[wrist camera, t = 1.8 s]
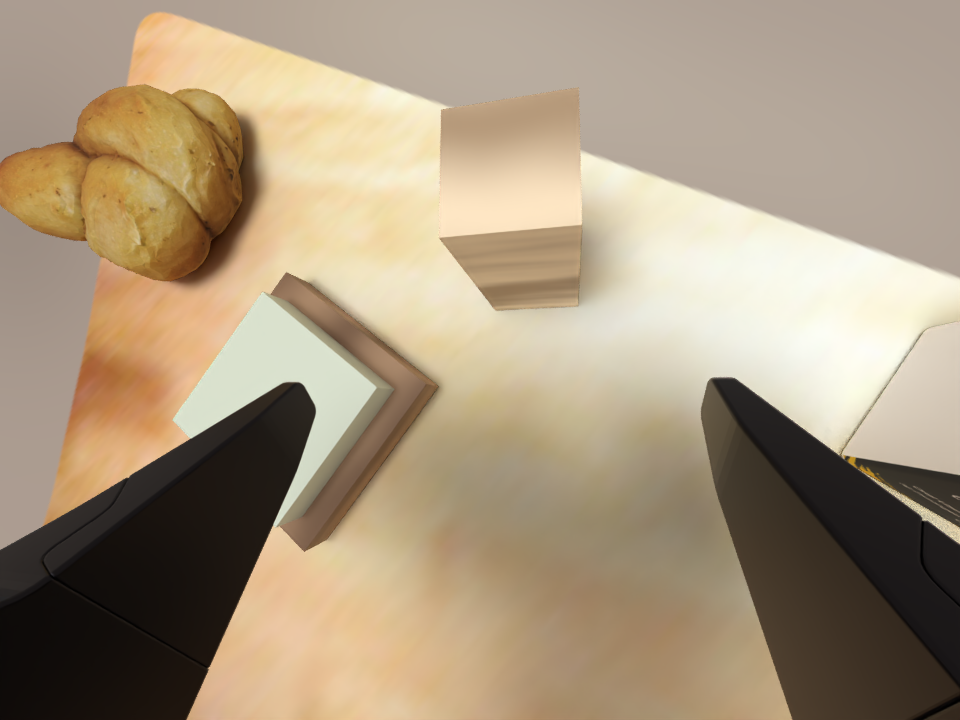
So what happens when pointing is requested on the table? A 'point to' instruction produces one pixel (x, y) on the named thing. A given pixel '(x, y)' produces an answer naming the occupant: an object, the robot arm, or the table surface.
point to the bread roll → (135, 179)
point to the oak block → (514, 197)
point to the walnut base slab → (382, 429)
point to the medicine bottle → (918, 426)
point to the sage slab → (290, 358)
